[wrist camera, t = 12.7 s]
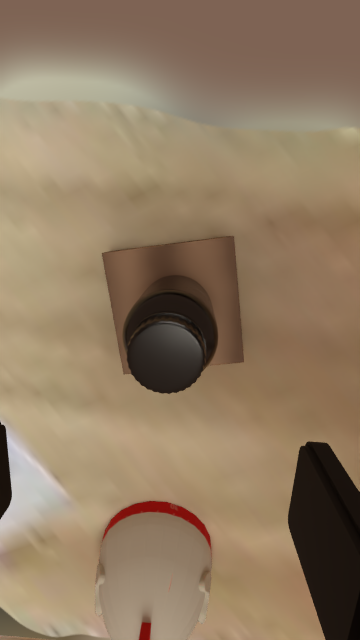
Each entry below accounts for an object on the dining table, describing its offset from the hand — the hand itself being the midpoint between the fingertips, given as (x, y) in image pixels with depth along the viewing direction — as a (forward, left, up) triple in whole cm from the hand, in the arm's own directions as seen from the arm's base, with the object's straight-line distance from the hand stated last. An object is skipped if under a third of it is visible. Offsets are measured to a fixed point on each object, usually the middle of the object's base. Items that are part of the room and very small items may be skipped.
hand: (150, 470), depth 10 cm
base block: (0, 0, -24) cm, 24 cm away
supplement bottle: (0, 0, -22) cm, 22 cm away
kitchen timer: (+1, +32, -25) cm, 40 cm away
